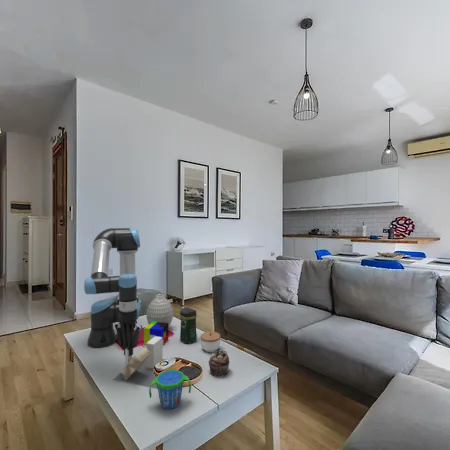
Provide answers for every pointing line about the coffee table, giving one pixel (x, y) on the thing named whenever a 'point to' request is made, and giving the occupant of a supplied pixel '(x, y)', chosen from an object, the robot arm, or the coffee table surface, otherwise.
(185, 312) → the coffee jar
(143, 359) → the oak slab
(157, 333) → the puzzle toy
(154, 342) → the cream slab
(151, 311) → the vase
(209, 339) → the lidded jar
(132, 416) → the coffee table surface
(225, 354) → the cupcake
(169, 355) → the coffee table surface
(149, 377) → the mat
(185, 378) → the snack cup
